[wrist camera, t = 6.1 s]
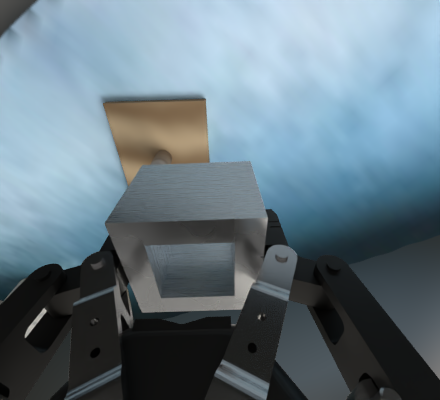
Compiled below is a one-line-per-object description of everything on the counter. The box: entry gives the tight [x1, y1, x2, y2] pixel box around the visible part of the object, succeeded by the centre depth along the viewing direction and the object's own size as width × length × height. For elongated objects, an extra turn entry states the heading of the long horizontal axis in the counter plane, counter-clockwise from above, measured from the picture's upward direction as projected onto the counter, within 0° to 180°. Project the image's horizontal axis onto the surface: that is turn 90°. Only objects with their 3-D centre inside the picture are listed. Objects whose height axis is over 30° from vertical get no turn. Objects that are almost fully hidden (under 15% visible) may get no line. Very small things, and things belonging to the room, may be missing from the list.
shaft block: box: [103, 99, 209, 186], centre depth 27 cm, size 14×12×8 cm
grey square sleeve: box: [105, 161, 268, 312], centre depth 12 cm, size 6×6×5 cm
